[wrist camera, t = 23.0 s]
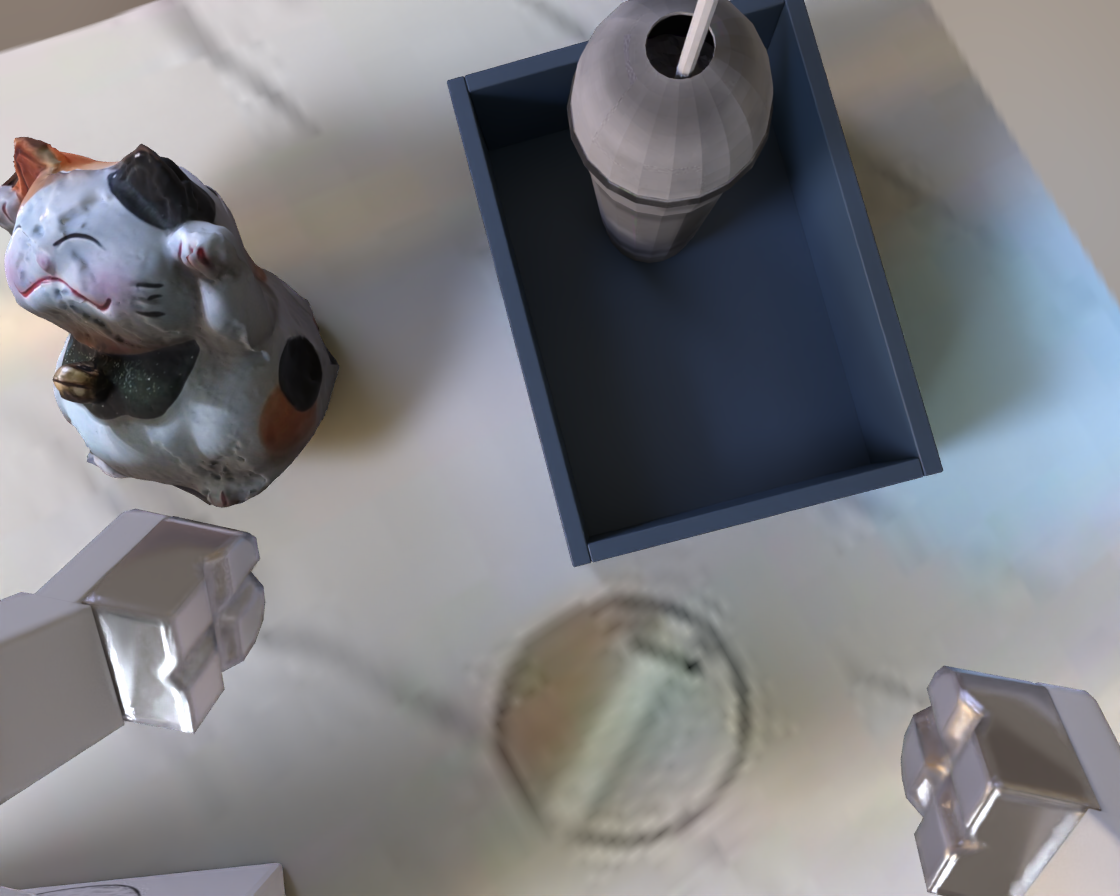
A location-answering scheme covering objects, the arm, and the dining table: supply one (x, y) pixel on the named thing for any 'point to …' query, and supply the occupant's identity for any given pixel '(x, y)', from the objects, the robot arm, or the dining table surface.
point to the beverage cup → (668, 117)
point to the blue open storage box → (696, 316)
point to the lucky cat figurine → (163, 323)
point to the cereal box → (183, 884)
